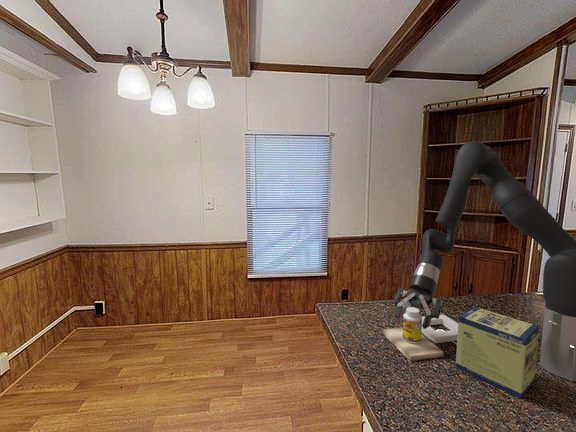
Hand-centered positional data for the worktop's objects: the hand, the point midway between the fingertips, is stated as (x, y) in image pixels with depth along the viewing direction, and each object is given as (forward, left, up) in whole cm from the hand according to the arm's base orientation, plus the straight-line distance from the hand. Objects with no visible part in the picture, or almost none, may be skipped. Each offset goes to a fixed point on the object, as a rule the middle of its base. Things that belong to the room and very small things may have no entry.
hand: (410, 323), depth 93 cm
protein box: (-17, -14, -8) cm, 24 cm away
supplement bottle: (+1, -1, -6) cm, 7 cm away
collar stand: (+7, -16, -8) cm, 19 cm away
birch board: (+1, -1, -8) cm, 8 cm away
